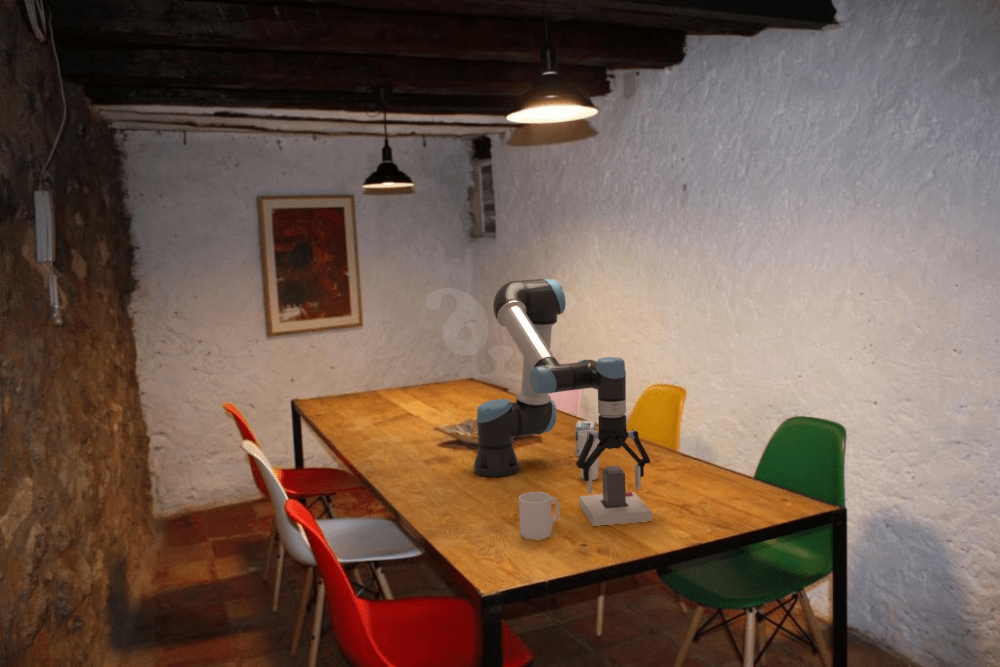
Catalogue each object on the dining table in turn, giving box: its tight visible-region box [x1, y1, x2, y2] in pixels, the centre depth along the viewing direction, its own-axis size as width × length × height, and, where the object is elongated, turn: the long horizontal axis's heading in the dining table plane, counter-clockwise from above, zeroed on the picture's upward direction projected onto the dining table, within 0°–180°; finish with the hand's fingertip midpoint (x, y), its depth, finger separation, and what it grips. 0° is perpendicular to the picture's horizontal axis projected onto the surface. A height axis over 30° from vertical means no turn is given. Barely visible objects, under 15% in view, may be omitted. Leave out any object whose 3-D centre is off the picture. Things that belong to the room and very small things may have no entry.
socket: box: [578, 490, 653, 527], centre depth 206 cm, size 16×16×4 cm
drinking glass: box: [578, 430, 600, 481], centre depth 237 cm, size 7×7×15 cm
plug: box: [601, 465, 626, 508], centre depth 205 cm, size 5×5×13 cm
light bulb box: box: [574, 419, 597, 457], centre depth 267 cm, size 11×7×11 cm, turn 168°
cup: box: [518, 491, 561, 541], centre depth 194 cm, size 8×12×10 cm
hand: (613, 490), depth 205 cm, fingers open, 13 cm apart
